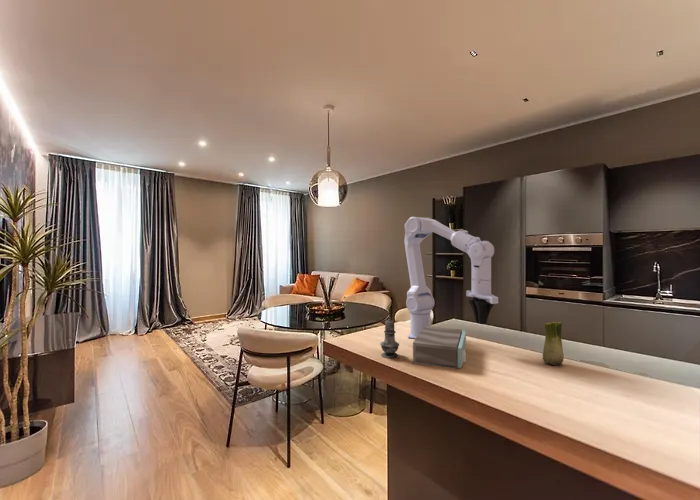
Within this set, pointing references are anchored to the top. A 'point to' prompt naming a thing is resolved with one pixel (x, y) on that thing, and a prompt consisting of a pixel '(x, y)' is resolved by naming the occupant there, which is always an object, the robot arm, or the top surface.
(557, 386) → the top surface
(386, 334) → the salt shaker
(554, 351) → the fennel bulb
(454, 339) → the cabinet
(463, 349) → the door
